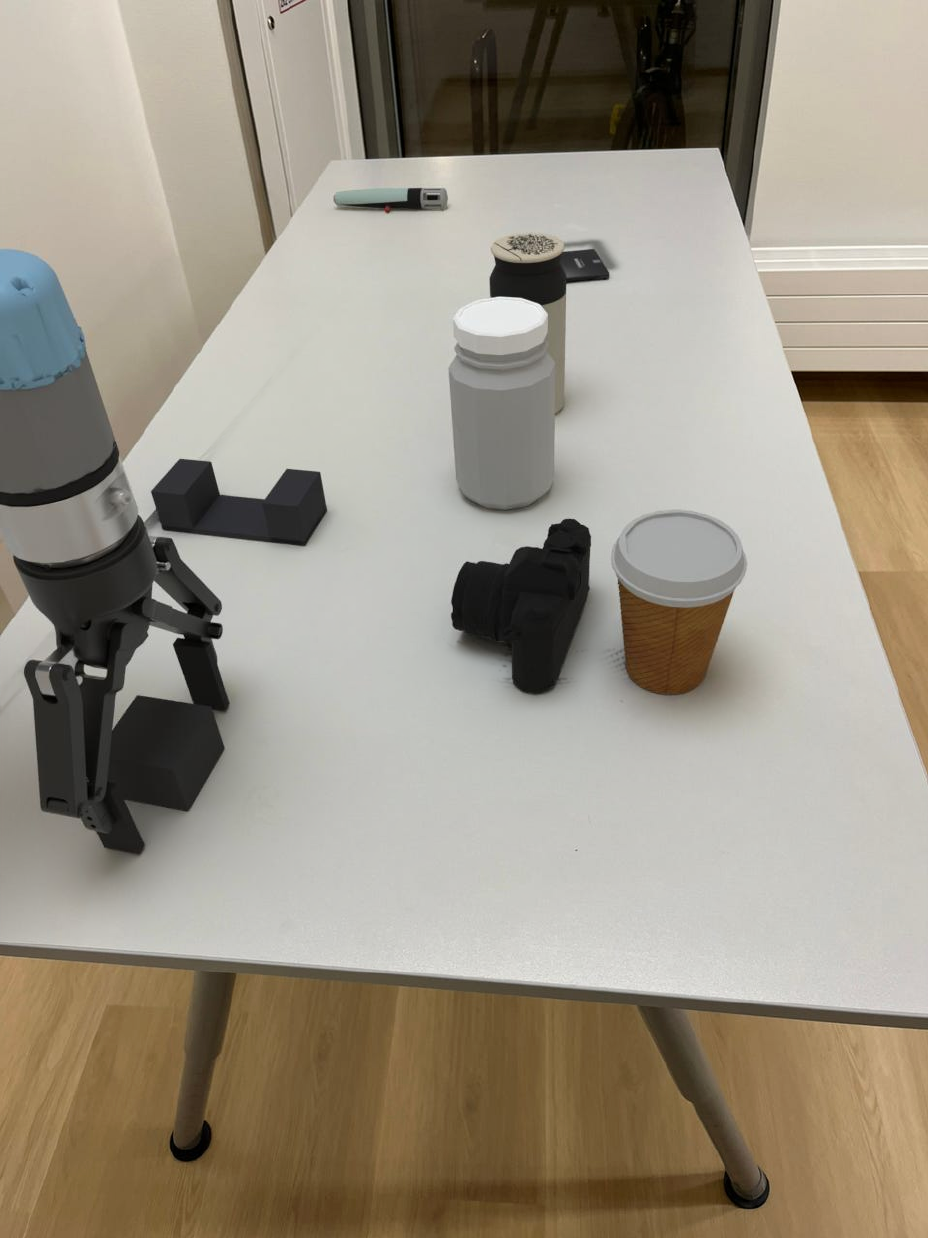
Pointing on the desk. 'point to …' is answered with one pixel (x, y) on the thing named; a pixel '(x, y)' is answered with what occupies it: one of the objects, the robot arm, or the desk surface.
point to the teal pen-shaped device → (393, 198)
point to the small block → (164, 751)
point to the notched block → (239, 505)
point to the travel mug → (535, 287)
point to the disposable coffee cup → (674, 595)
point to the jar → (502, 402)
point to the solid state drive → (583, 265)
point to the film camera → (529, 602)
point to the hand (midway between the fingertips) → (171, 771)
